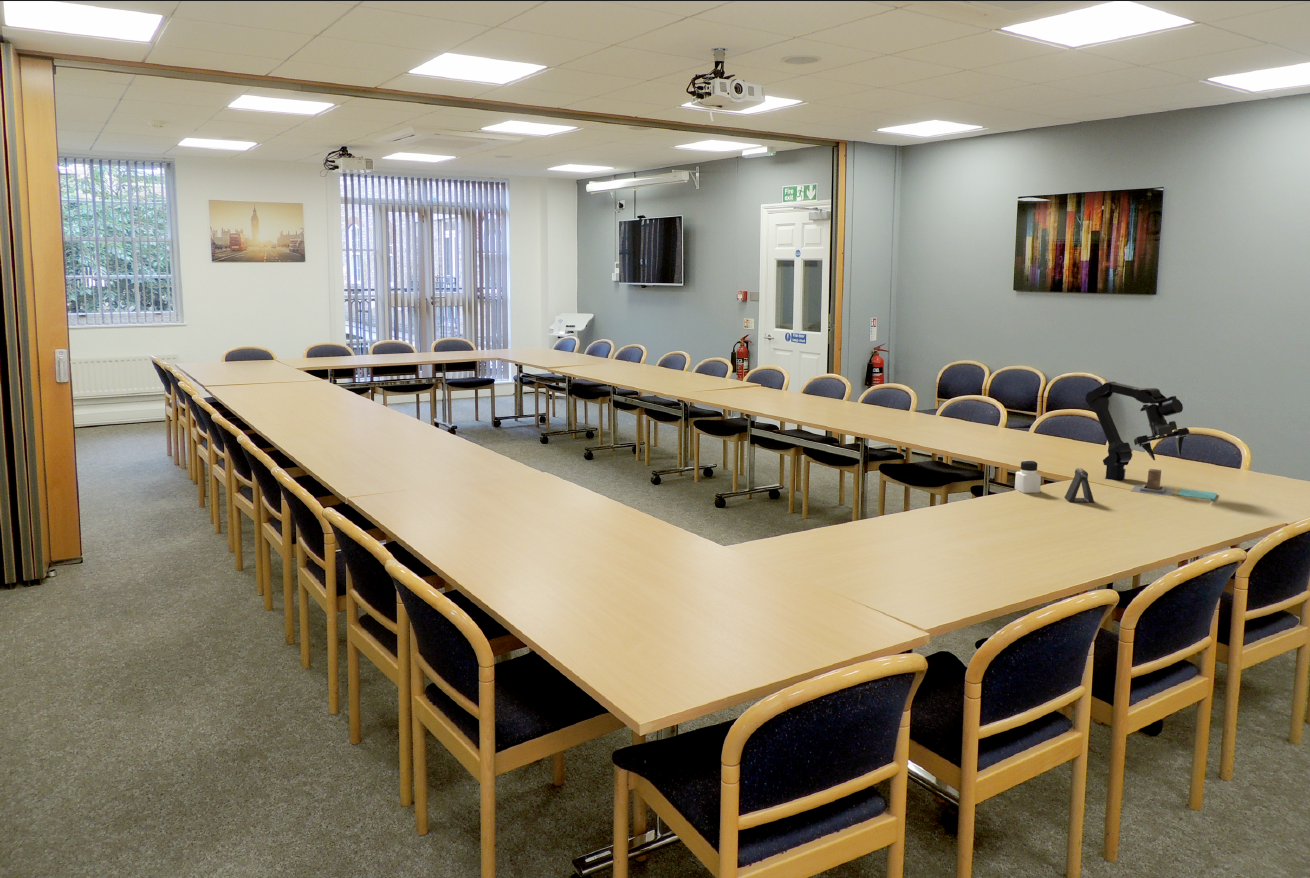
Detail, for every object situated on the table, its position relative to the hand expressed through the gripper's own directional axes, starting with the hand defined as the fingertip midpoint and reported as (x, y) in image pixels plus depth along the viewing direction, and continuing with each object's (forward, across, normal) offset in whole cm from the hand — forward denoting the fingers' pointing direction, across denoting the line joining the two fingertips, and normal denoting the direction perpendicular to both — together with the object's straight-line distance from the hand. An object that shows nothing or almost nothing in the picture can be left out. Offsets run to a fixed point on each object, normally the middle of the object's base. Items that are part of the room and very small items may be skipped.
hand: (1167, 457), depth 357 cm
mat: (+16, +7, 0) cm, 18 cm away
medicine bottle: (+3, -54, -8) cm, 55 cm away
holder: (+12, -7, +3) cm, 14 cm away
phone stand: (+11, -38, -18) cm, 44 cm away
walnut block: (+11, -7, +3) cm, 14 cm away
